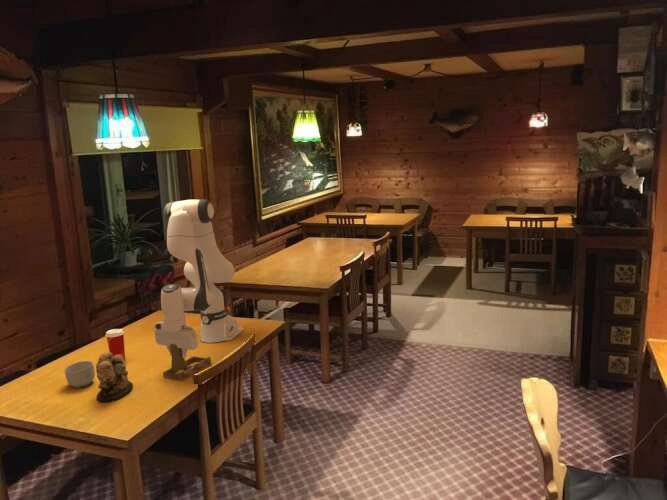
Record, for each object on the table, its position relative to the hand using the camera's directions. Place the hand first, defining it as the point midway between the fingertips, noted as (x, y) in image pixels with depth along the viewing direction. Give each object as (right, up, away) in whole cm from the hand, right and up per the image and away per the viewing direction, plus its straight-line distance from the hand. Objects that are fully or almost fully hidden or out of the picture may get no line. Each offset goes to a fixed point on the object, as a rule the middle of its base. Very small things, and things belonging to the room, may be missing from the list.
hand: (178, 356), depth 230 cm
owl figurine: (-21, -12, -13) cm, 27 cm away
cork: (0, -5, +1) cm, 5 cm away
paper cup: (-32, -6, +19) cm, 38 cm away
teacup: (-39, -10, -2) cm, 40 cm away
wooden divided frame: (+3, -7, +5) cm, 9 cm away
